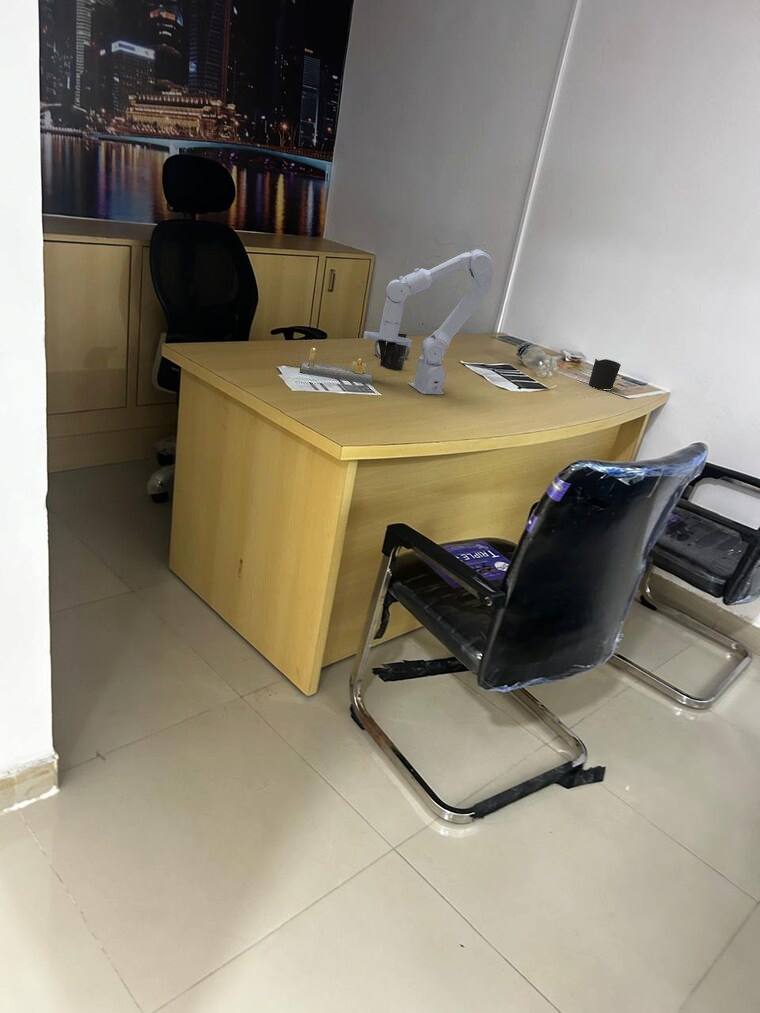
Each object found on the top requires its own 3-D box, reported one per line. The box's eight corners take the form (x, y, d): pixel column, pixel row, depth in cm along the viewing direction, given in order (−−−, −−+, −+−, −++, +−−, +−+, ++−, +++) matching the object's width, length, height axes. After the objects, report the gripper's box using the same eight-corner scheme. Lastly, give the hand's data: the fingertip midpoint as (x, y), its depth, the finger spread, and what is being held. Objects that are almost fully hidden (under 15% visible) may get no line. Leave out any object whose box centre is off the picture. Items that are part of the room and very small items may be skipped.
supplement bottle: (402, 371, 241) (409, 336, 236) (382, 368, 240) (389, 332, 235) (402, 366, 247) (409, 331, 242) (383, 363, 247) (389, 328, 242)
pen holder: (613, 393, 268) (622, 367, 264) (588, 387, 269) (596, 361, 265) (611, 387, 277) (619, 362, 273) (586, 381, 278) (594, 356, 274)
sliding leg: (364, 371, 226) (366, 358, 224) (364, 377, 220) (367, 363, 218) (351, 369, 225) (353, 356, 223) (351, 375, 219) (354, 361, 217)
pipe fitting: (385, 360, 249) (392, 330, 246) (371, 355, 254) (377, 325, 251) (411, 363, 257) (417, 334, 254) (396, 358, 262) (403, 330, 259)
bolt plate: (370, 375, 229) (374, 354, 226) (371, 384, 220) (376, 362, 217) (301, 364, 227) (304, 342, 224) (300, 372, 218) (303, 349, 215)
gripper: (367, 319, 213) (359, 364, 218) (415, 328, 214) (406, 372, 220) (367, 315, 219) (359, 358, 225) (413, 323, 221) (404, 366, 226)
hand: (382, 365), depth 223 cm, fingers closed
